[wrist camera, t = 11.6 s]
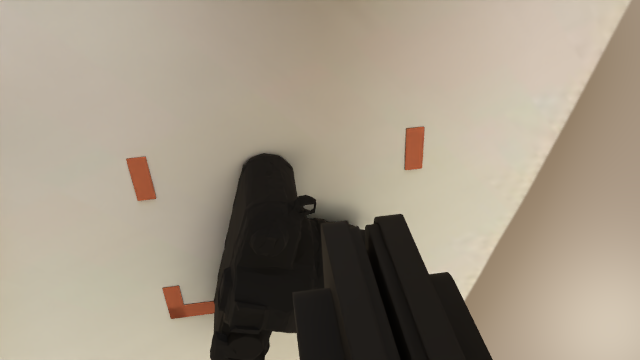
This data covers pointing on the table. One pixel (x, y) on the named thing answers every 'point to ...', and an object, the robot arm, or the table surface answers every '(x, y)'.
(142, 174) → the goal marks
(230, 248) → the film camera
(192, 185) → the table surface
